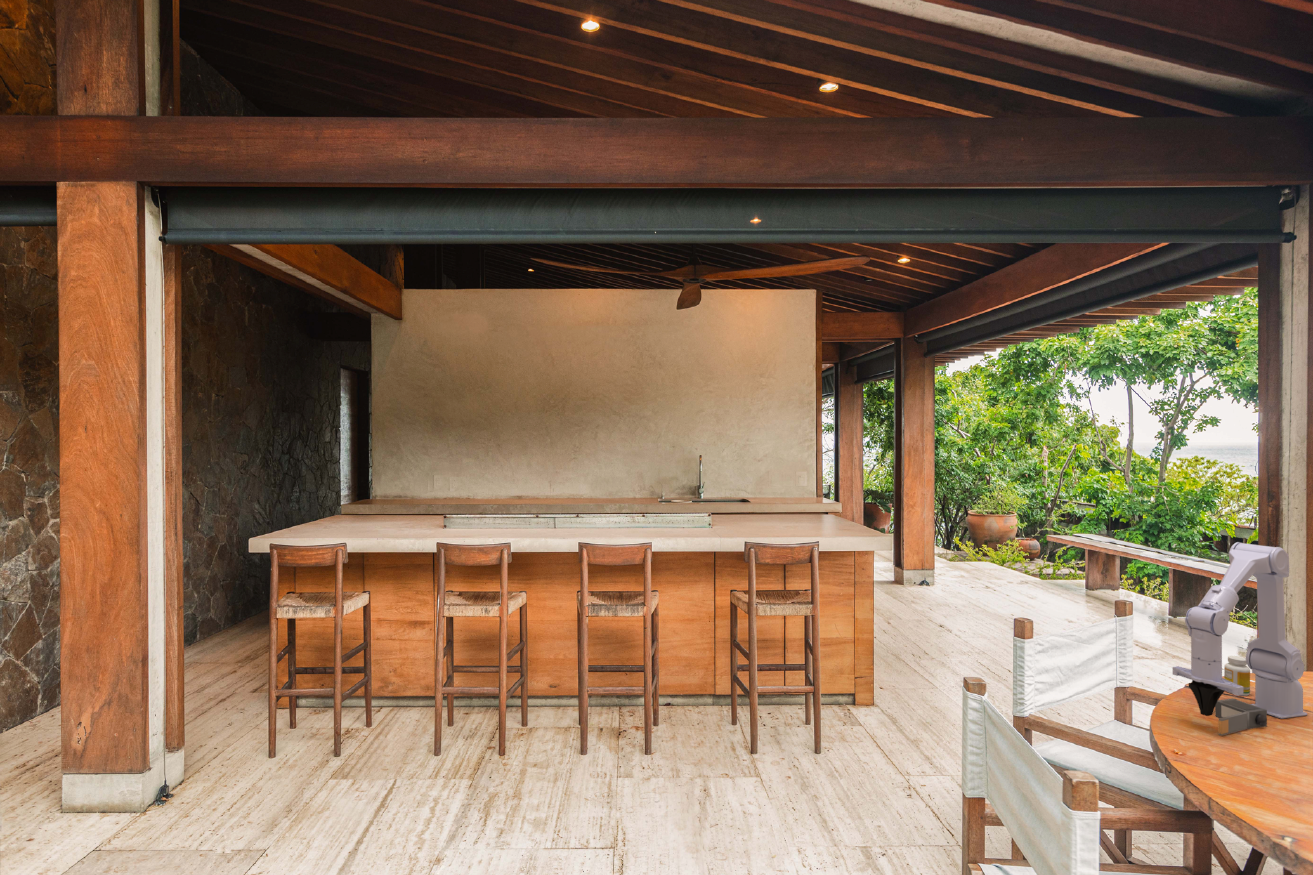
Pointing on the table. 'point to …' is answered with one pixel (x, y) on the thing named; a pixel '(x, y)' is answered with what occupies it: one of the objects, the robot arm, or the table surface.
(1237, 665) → the supplement bottle
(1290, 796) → the table surface
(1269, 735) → the table surface
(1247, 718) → the side door
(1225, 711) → the camera body
